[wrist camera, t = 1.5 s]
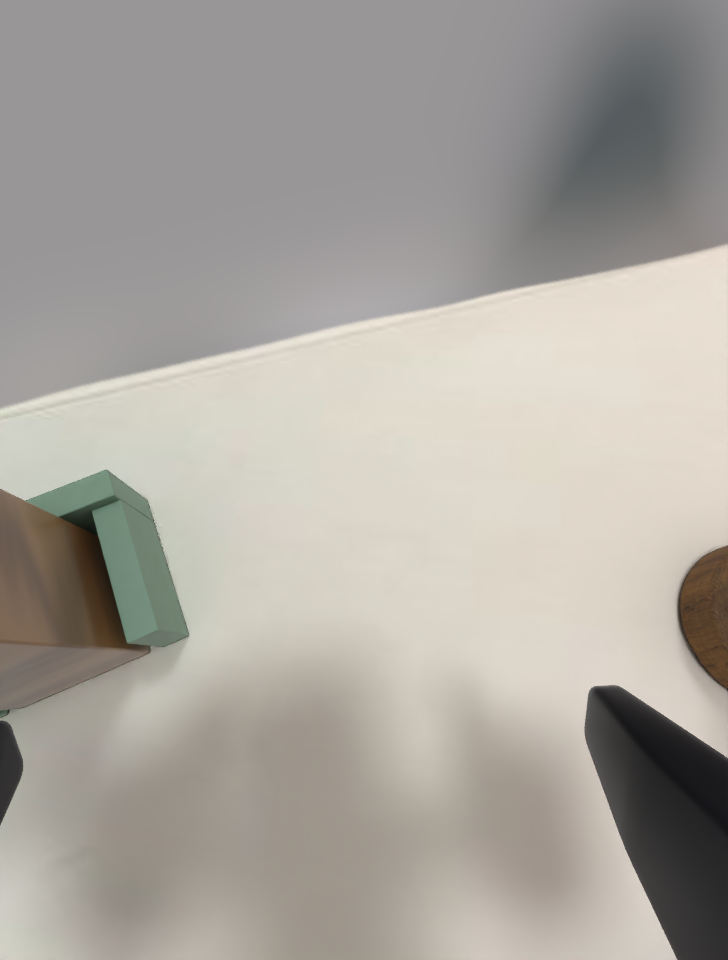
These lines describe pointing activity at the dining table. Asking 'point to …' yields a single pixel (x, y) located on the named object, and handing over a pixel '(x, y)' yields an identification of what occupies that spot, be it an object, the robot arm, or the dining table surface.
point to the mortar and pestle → (708, 612)
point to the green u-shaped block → (124, 554)
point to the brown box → (53, 606)
